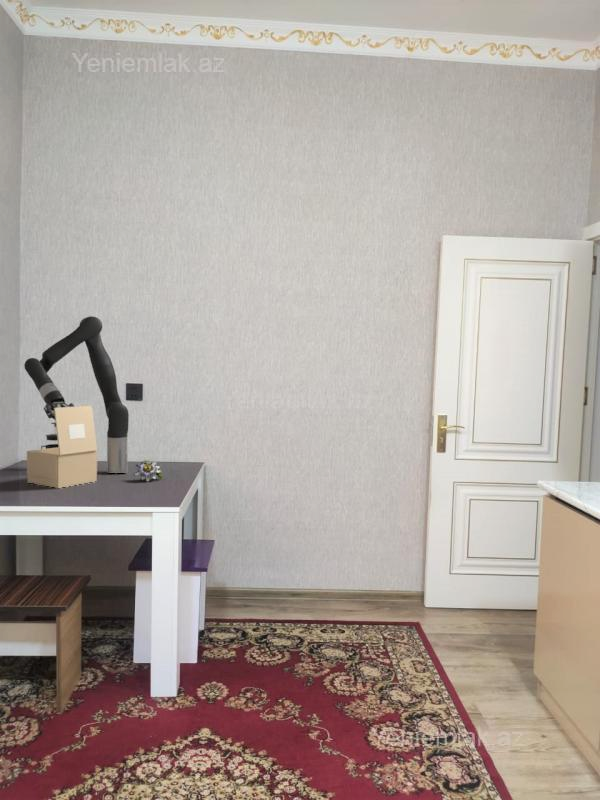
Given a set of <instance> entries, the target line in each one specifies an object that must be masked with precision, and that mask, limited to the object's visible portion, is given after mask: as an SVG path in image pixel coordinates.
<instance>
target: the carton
mask: <svg viewBox="0 0 600 800" xmlns="http://www.w3.org/2000/svg"><path fill="white" fill-rule="evenodd" d="M97 474H98V449H97V450H95V451H87V452H79V453H71V454H63V455H59V448H58V447H57V448H48V449H46V448H42V449H41V448H40V449H34V450H33V449H32V450H27V451H26V475H27V483H28V482H32V483H37V484H41V485H45V486H50V487H49V488H51V487H55V488H54V489H57V488H60V489H63V488H62V487H66V488H70V487H69V486H71V487H75V486H74V485H77V486H80V485H79V484H82V485H85V484H84V483H88V484H90V483H89V482H93V483H96V482H95V481H98V480H97V479H98V478H97V477H98V476H97ZM45 486H44V487H45Z"/></svg>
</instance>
